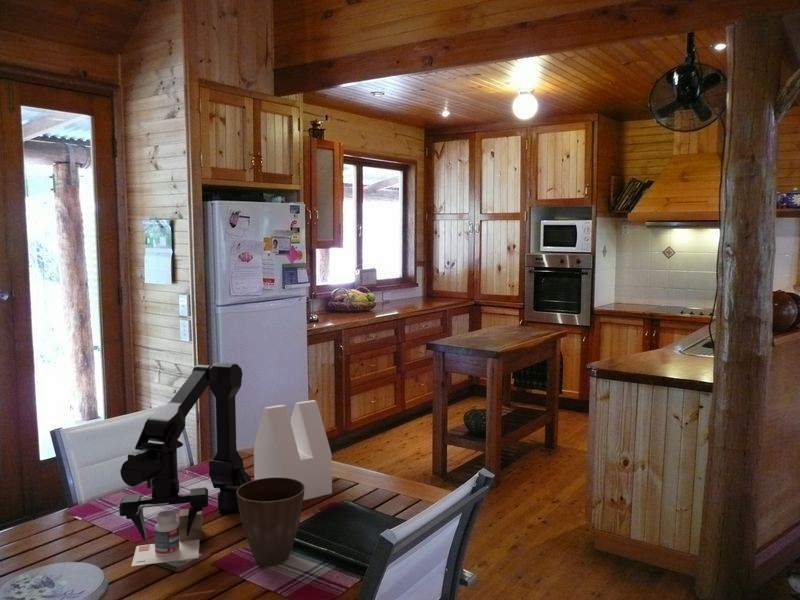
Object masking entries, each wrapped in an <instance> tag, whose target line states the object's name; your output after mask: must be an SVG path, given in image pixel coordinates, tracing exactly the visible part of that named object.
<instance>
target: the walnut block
mask: <svg viewBox="0 0 800 600" xmlns="http://www.w3.org/2000/svg"><path fill="white" fill-rule="evenodd" d="M188 513H189V508H183V509H182V508H181V509H180V510H179V514H178V515H179V516H178V524H179V541H180V542H181V541H189V540H197V539H200V540H202V539H203V510H202V511H199V512H197V514H196V516H195V518H194V520H193V523H192V526H191V530H190V533H189V536H187V522H188Z"/></svg>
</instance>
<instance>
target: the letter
mask: <svg viewBox="0 0 800 600" xmlns="http://www.w3.org/2000/svg"><path fill="white" fill-rule="evenodd" d="M200 540H201V539H197V540H189V541H181V542H180V540H179V551H178V552H177V553H175V554H173V555H170V556H158V555H156V553H155V543H150V544H143V545H136V546H135V551H134V555H133V559H132V562H131V565H130V566H131V567H137V566H145V565H152V564H159V563H161V564H162V563H167V562H168V563H169V562H177V561H184V560H185V561H186V560H193V559H199V553H200V552H199V551H200Z"/></svg>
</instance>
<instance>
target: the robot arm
mask: <svg viewBox="0 0 800 600" xmlns="http://www.w3.org/2000/svg"><path fill="white" fill-rule="evenodd" d="M242 370H243V369H242V367H241V366H240V365H239V364H237V363H228V362H214V363H212V365H211V364H196V365H195V366H194V367H193V368H192V372H191V374H190V375H189V376H188V378H186V380H185V382H184V383H182V386H181V387H180V388H179V389H178V390H177V392H176V393H175V394H174V396H173V397H172V398H171V400H170V401H169V402H168V403H167V404H166V405H165V406H163V407H160V408H158V409H156V410H155V411H154V412H153V413H152V414H151V415H150V416H149V417H148V418H147V419H146V421H145V422H144V425H143V428H142V430H141V433H140V435H139V438H138V439H137V442H136V444H135V446H134V449H135V450H136V452H130V453H128V454H127V459H126V460H125V461H124V462H123V463H122V465H121V468H120V471H119V473H120V476H121V480H122V481H123V483H124V484H126V485H127V486H129V487H136V486H137V487H138V486H139V485H141V484H143V483H146V488H147V489H151V491H150V492H151V497H148V498H142V495H141V493H136V494H125V495H124V496H123V497H122V498H121V500H120V502H119V506H118V507H119V508H118V510H119V511H118V512H119V514H118V515H119V517H125V518H126V520H131V522H132V523H133V525H135V527H136V529H137V530H138V532H139V534H140V536H141V538H142V540H143V542H146V541H147V530H146V524H145V517H144V508H151V507H153V508H154V507H162V506H171V505H172V506H173V505H180V504H189V506H188V509H189V513H188V522H187V536H189V533H190V530H191V526H192V523H193V520H194V518H195V516H196V514H197V512H199V511H202V512H203V508H207V507H209V489H208V488H207V487H197V488H190V490H189V491H190V493H186V494H179V493H180V480H179V476H178V475H179V474H178V471H179V470H178V449H179V448H182V447H183V446H184V444H183V442H182V441H179V439H180V437H181V435H182V434H183V432H184V429H185V428H186V418H187V417H188V414H189V412H191V410H192V408H193V407H194V406H195V405H196V403H197V402H198V401H199V399H200V398H201V396H202V395H203V393H204V392H205V391H206V389H207V388H208V387H209V388H208V389H209V390H210V391H211V393H212V395H213V396H214V398H215V424H216V425H215V430H216V453H215V454H214V457H213V458H212V459H211V460H209V461H208V467H209V468H208V469H209V471H208V476H209V477H210V481H211V484H212V487H213V488H214V489H219V491H218V492H217V511H219V515H220V516H226V515H236V514H240V511H239V505H238V500H237V493H236V492H237V489H238V488H239V487H240V486H242V485H243V484H245V483H247V482H250V481H252V477H251V476H250V475H249V474H248V473H247V471H246V470H245V468H244V460H243V458H242V457H241V455H240V453H239V452H238V450H237V419H236V418H237V415H236V410H237V409H236V396H237V394H238V392H239V391H240V389H241V387H242V382H243V381H242V380H243V379H242V378H243V371H242ZM149 441H150V442H149Z"/></svg>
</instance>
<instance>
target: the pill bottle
mask: <svg viewBox="0 0 800 600" xmlns="http://www.w3.org/2000/svg"><path fill="white" fill-rule="evenodd" d="M176 519H177V515H176V511H174V510H163V511H160V512H159V513H157V514H156V520H157V521H156V522H157V523H156V524H155V525H154V529H153V530H154V531H153V534H154V544H155V553H156V555H158V556H170V555H173V554H175V553H177V552H178V551H179V541H180V531H179V521H177V520H176Z"/></svg>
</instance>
